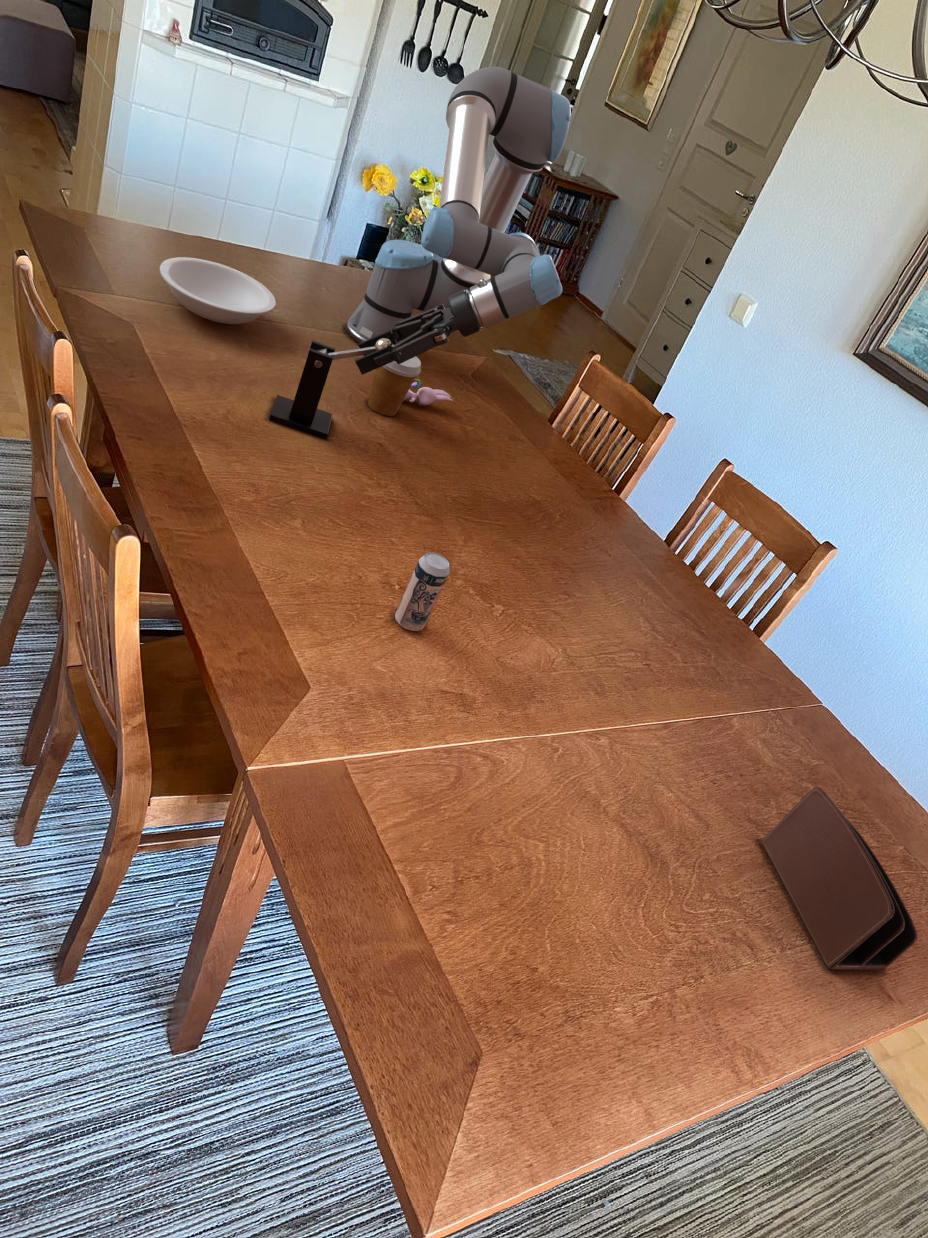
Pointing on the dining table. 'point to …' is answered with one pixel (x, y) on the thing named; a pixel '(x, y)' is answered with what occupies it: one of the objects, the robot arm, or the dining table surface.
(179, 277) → the soup bowl
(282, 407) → the bracket
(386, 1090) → the dining table surface
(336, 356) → the ball-tipped metal rod
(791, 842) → the letter holder
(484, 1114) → the dining table surface
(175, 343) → the dining table surface
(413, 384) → the rabbit figure
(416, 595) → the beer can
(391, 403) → the disposable coffee cup
